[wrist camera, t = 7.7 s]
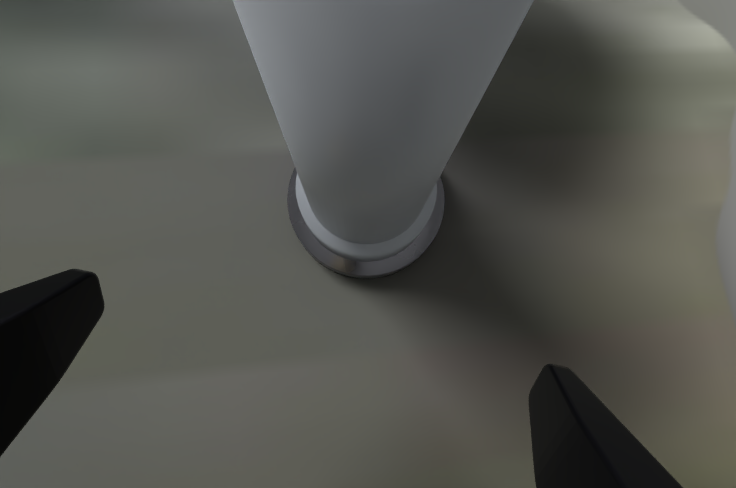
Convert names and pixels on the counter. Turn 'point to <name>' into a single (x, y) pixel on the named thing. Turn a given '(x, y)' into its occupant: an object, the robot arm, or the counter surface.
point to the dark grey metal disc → (364, 268)
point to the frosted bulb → (375, 104)
